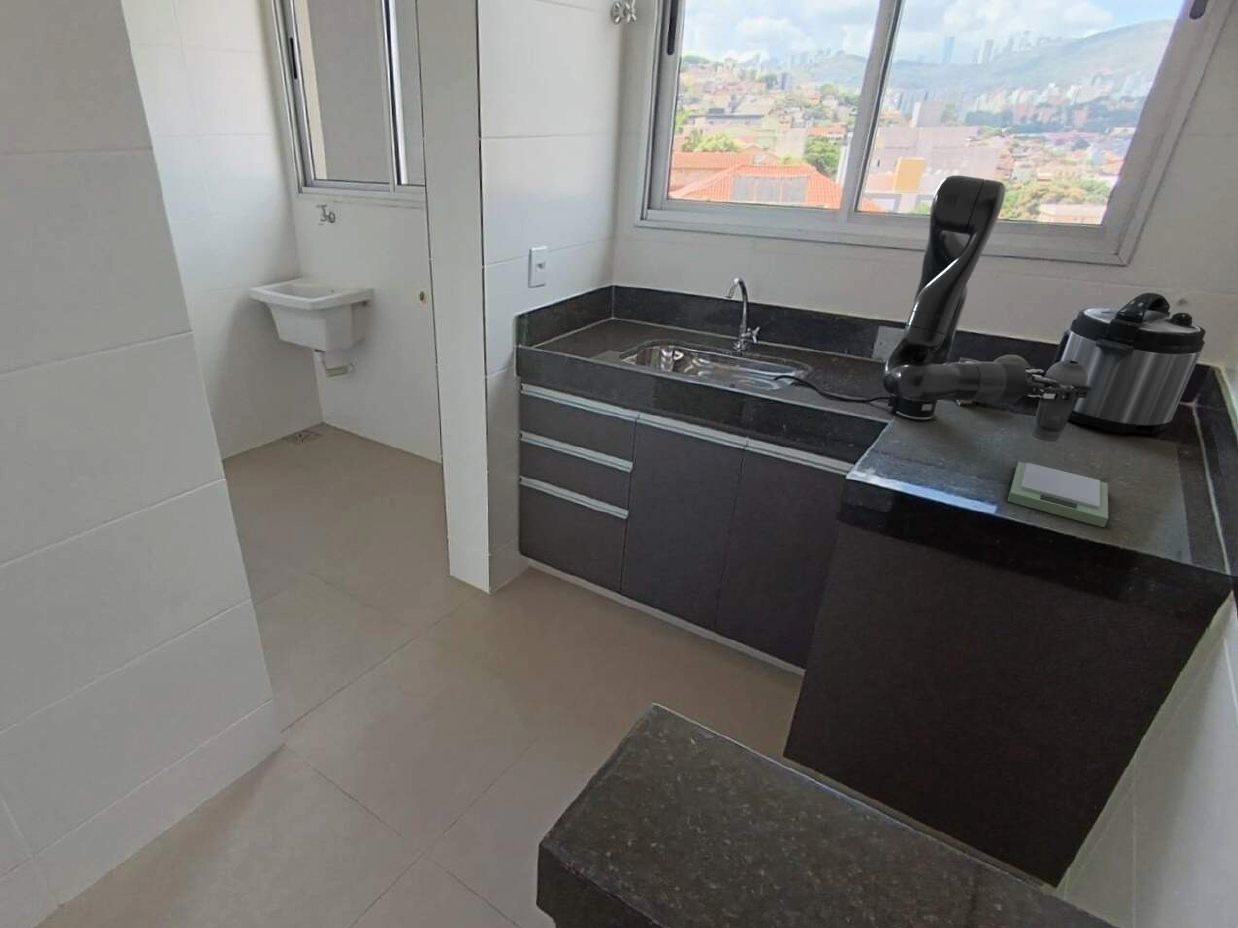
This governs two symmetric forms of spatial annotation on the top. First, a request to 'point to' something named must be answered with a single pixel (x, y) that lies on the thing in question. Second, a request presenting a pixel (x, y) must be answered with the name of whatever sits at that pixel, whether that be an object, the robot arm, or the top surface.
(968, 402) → the food container
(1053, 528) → the top surface
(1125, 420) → the pressure cooker
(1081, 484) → the kitchen scale
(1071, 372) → the beverage cup
